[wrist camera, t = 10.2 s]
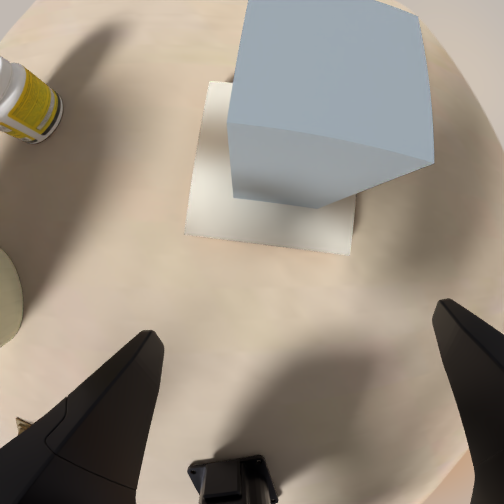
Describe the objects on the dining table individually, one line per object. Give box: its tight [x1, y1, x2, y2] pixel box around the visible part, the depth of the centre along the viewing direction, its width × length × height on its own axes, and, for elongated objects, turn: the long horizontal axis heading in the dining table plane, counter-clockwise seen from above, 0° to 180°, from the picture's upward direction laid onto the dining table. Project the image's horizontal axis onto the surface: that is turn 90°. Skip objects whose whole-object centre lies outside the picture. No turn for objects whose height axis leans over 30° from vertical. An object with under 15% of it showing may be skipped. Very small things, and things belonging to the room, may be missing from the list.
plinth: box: [184, 81, 356, 256], centre depth 20 cm, size 10×10×2 cm
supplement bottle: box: [0, 56, 63, 144], centre depth 16 cm, size 5×5×8 cm
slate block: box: [227, 0, 434, 209], centre depth 12 cm, size 5×5×12 cm
